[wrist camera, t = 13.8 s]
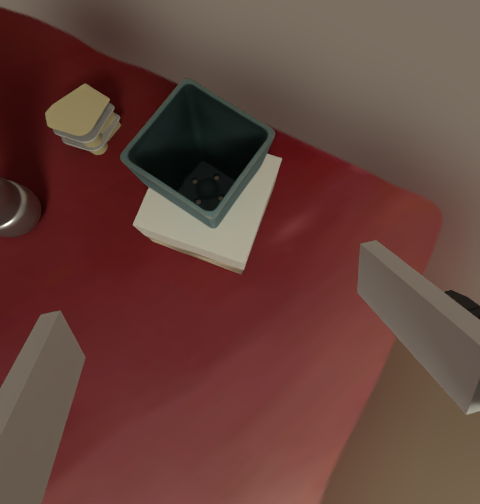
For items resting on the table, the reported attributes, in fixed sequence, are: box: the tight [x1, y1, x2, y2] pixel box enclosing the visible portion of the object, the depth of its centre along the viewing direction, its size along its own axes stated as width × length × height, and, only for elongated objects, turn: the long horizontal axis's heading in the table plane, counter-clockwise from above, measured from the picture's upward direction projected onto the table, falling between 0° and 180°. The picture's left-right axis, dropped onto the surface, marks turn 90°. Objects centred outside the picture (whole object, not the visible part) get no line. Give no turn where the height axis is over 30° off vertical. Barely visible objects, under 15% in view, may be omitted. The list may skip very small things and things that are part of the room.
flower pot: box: [120, 78, 275, 229], centre depth 28 cm, size 9×9×9 cm
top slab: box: [133, 154, 282, 270], centre depth 35 cm, size 12×12×4 cm
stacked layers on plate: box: [45, 84, 121, 155], centre depth 40 cm, size 10×9×6 cm
